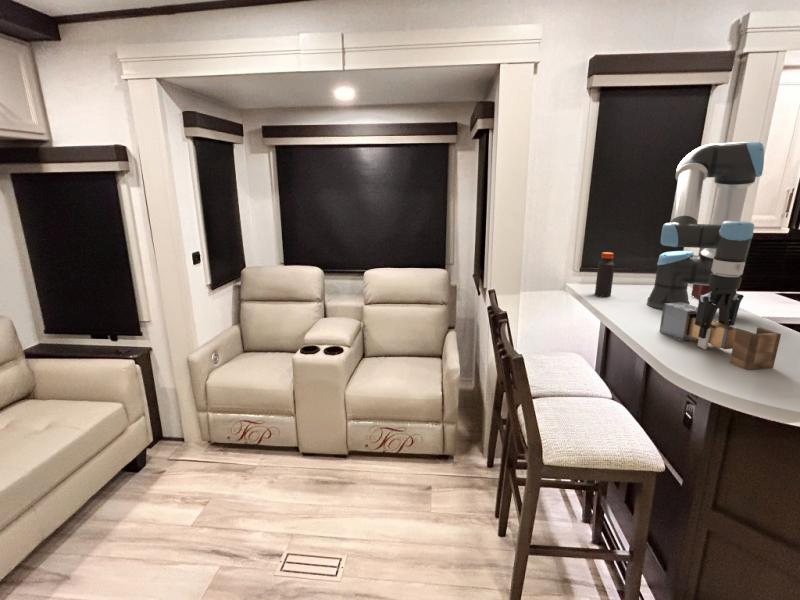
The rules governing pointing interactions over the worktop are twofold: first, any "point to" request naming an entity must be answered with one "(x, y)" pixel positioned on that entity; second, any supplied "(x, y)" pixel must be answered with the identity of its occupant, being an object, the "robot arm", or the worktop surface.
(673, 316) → the sleeve
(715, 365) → the worktop surface
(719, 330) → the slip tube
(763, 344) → the brown wooden box
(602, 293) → the bottle
